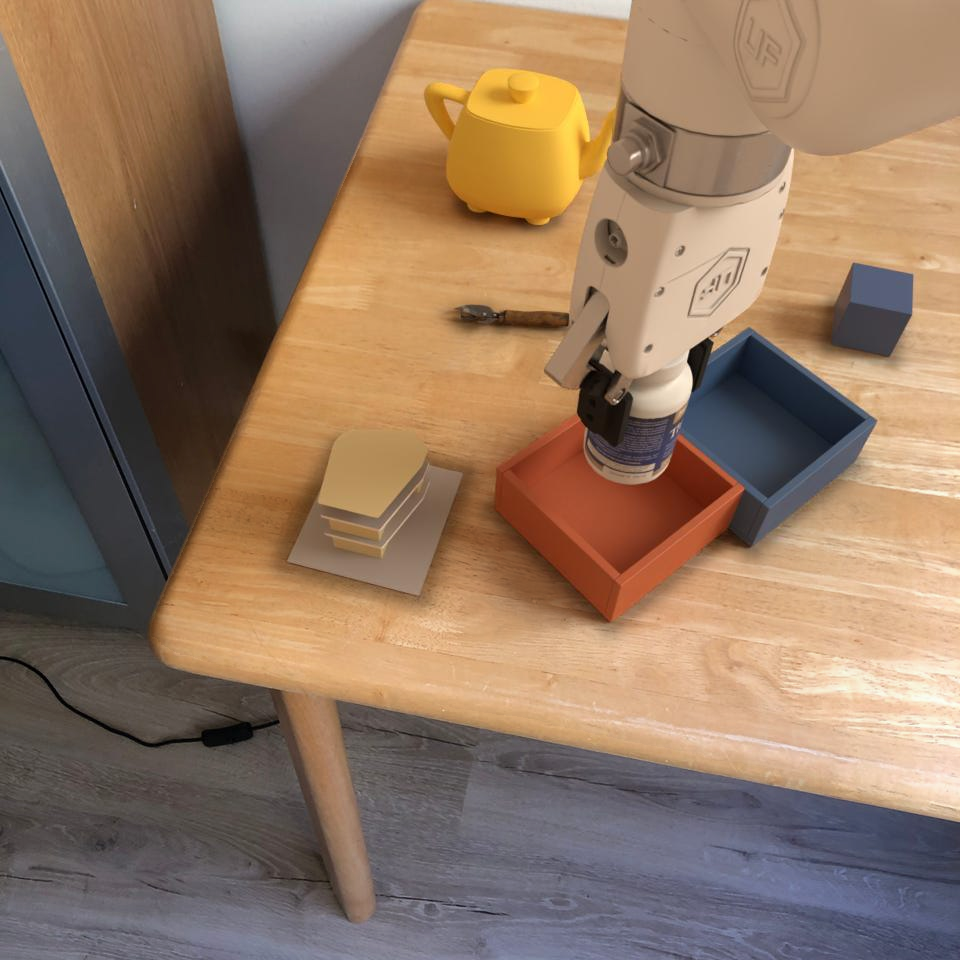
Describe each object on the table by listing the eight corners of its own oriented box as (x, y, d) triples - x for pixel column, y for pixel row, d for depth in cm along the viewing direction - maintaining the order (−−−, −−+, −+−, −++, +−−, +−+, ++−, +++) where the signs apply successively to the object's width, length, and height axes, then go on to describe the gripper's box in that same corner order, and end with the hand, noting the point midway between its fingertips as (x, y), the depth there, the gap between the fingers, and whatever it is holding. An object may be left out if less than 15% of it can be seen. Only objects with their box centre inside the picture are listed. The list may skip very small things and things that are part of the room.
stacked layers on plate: (419, 596, 61) (415, 550, 57) (286, 561, 62) (273, 514, 58) (463, 473, 67) (463, 423, 62) (341, 444, 68) (333, 393, 63)
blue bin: (855, 461, 68) (878, 420, 64) (751, 548, 64) (769, 509, 60) (734, 369, 73) (749, 326, 69) (629, 444, 68) (639, 402, 65)
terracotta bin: (729, 526, 64) (746, 487, 61) (610, 623, 60) (620, 586, 56) (611, 425, 69) (620, 383, 66) (493, 507, 65) (495, 467, 61)
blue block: (890, 357, 74) (912, 314, 70) (830, 344, 74) (849, 301, 71) (892, 316, 76) (913, 273, 73) (834, 305, 77) (853, 261, 73)
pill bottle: (674, 489, 57) (710, 380, 49) (584, 487, 57) (605, 377, 49) (665, 418, 60) (697, 305, 53) (580, 416, 60) (599, 303, 53)
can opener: (569, 320, 75) (571, 309, 74) (565, 342, 74) (567, 331, 73) (456, 304, 76) (455, 294, 75) (450, 325, 75) (449, 314, 74)
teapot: (638, 177, 86) (658, 64, 77) (610, 256, 80) (629, 144, 71) (446, 137, 89) (445, 25, 80) (405, 211, 83) (399, 98, 74)
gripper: (623, 257, 35) (574, 525, 50) (901, 89, 42) (786, 369, 57) (490, 158, 39) (481, 437, 53) (767, 16, 45) (691, 299, 60)
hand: (638, 400), depth 55 cm, fingers closed on pill bottle, 5 cm apart
